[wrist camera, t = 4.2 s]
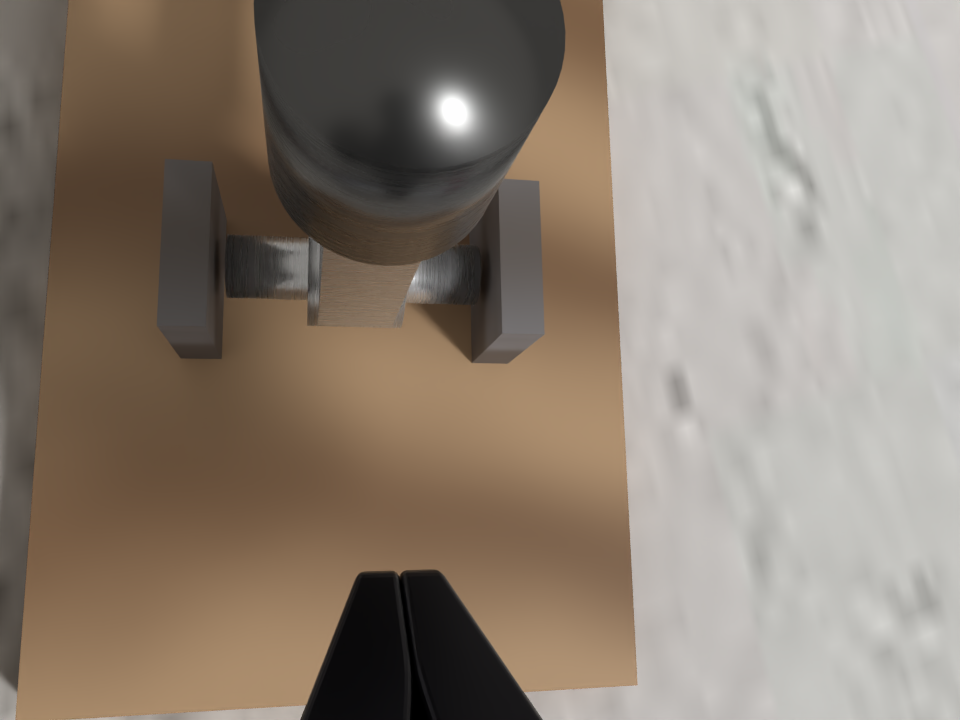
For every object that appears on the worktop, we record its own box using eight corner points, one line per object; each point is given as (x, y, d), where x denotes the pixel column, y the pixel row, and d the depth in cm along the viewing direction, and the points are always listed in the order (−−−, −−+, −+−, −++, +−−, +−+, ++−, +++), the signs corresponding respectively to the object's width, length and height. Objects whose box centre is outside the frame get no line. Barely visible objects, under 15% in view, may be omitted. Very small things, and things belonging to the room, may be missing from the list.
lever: (467, 374, 18) (675, 181, 8) (229, 372, 17) (122, 147, 7) (462, 94, 19) (638, -389, 9) (238, 76, 18) (159, -482, 8)
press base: (617, 675, 19) (705, 717, 15) (35, 709, 17) (-55, 769, 13) (581, -90, 23) (644, -230, 19) (95, -150, 21) (41, -326, 16)
